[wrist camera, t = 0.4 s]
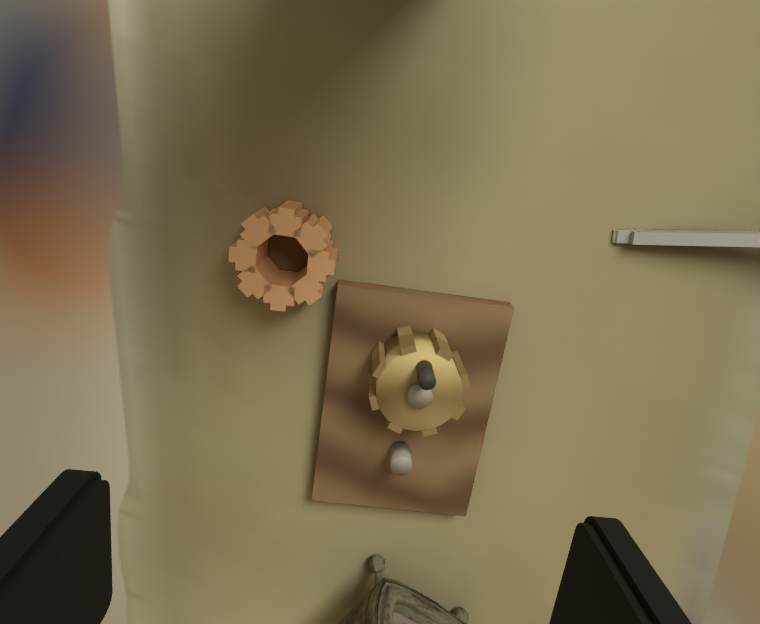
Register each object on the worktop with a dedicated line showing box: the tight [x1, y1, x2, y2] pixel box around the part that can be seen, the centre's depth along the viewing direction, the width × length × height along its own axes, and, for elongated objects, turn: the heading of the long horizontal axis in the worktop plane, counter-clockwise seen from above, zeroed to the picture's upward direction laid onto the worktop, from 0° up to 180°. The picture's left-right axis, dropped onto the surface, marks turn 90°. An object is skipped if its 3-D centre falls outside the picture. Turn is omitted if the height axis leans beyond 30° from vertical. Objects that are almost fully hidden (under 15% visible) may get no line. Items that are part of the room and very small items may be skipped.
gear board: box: [312, 280, 514, 516], centre depth 41 cm, size 20×14×8 cm
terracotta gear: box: [228, 200, 339, 312], centre depth 39 cm, size 7×7×4 cm
